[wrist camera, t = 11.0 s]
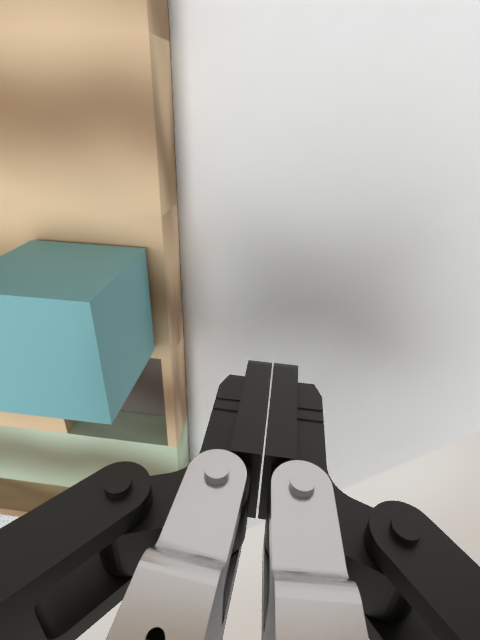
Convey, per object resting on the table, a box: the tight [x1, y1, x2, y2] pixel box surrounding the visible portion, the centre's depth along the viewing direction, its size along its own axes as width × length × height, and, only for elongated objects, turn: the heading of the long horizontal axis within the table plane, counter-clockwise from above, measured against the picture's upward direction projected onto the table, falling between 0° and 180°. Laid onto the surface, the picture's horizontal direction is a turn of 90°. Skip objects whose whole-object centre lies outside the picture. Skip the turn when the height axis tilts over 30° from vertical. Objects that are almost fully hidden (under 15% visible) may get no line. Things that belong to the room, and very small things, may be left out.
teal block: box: [0, 240, 155, 425], centre depth 16 cm, size 5×5×5 cm
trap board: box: [0, 0, 189, 517], centre depth 18 cm, size 29×14×4 cm, turn 178°
